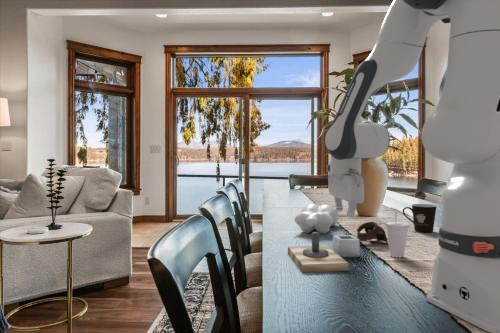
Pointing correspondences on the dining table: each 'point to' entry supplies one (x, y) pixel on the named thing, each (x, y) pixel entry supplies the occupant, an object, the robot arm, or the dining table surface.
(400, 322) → the dining table surface
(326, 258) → the post block
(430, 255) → the dining table surface
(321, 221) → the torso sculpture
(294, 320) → the dining table surface
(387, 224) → the smoothie
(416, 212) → the coffee mug
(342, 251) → the grey hollow square block
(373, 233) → the brown hollow curved piece
